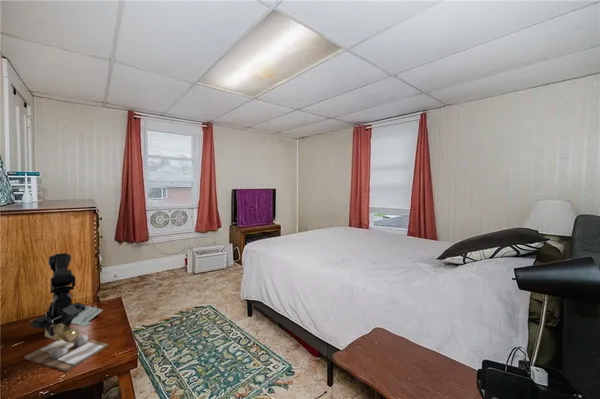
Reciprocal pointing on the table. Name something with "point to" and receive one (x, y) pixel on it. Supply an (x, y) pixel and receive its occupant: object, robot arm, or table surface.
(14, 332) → the table surface
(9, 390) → the table surface
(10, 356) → the table surface
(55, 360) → the hinge base
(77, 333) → the perfume bottle
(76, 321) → the metal bracket
